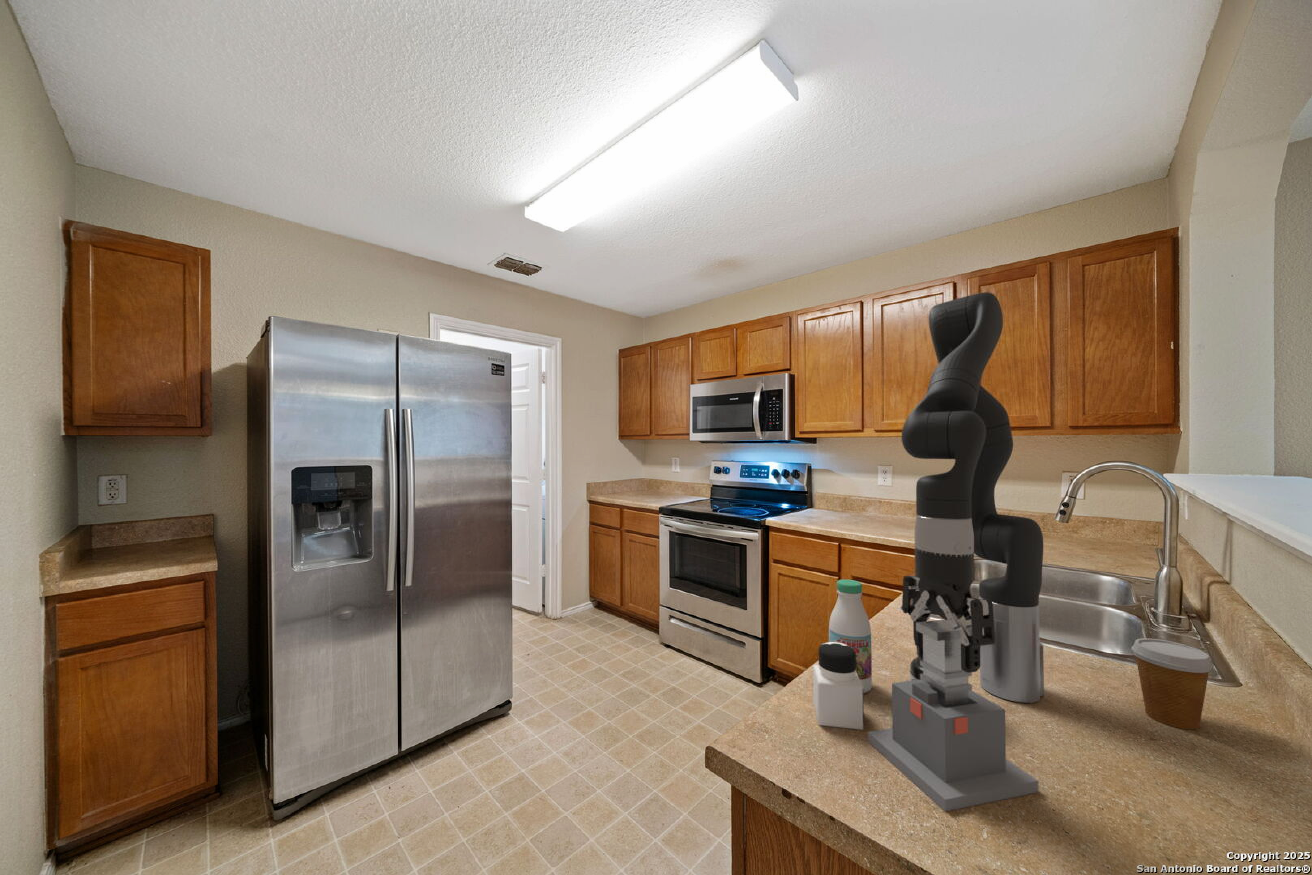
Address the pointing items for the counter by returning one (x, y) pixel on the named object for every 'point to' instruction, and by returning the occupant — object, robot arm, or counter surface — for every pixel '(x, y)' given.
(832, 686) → the medicine bottle
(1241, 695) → the counter surface
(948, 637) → the column
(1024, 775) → the stand base
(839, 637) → the milk bottle
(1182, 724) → the disposable coffee cup
